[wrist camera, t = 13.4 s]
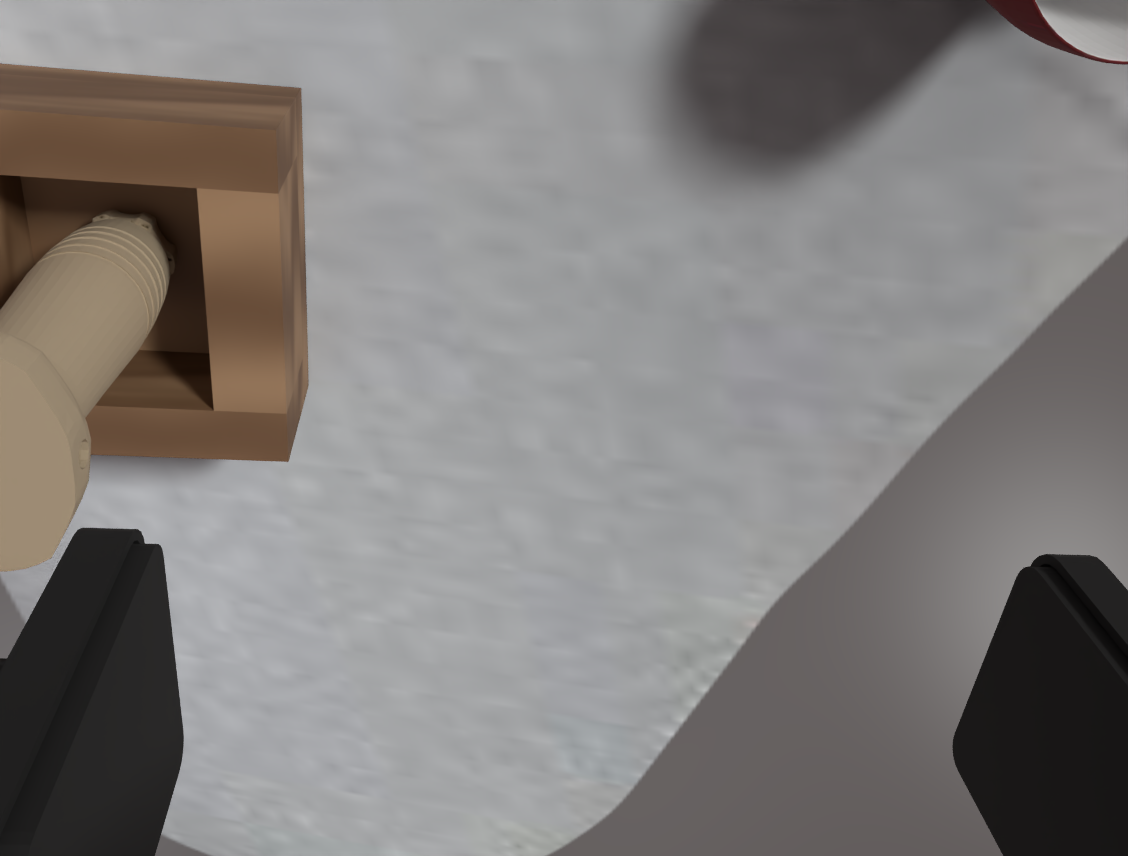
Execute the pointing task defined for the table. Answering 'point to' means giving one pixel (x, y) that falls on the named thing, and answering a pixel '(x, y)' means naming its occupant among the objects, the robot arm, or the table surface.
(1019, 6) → the mug
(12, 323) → the handle
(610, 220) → the table surface
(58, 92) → the block
